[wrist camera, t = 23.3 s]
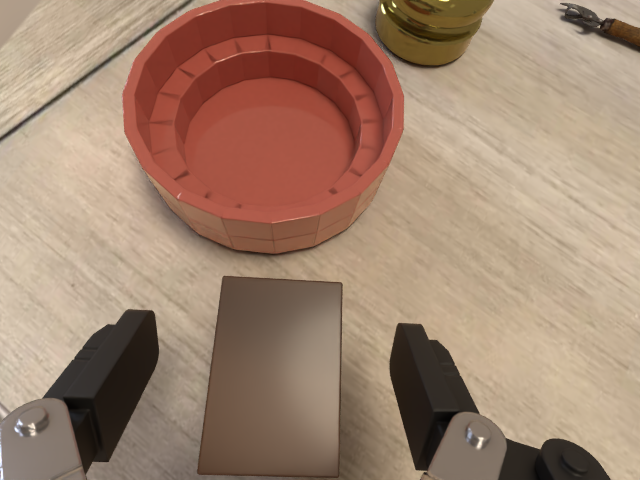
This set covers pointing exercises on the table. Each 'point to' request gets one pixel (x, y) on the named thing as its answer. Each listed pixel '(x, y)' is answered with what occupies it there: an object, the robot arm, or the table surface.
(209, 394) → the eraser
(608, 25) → the can opener
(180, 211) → the bowl
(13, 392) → the table surface
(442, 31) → the brass weight
